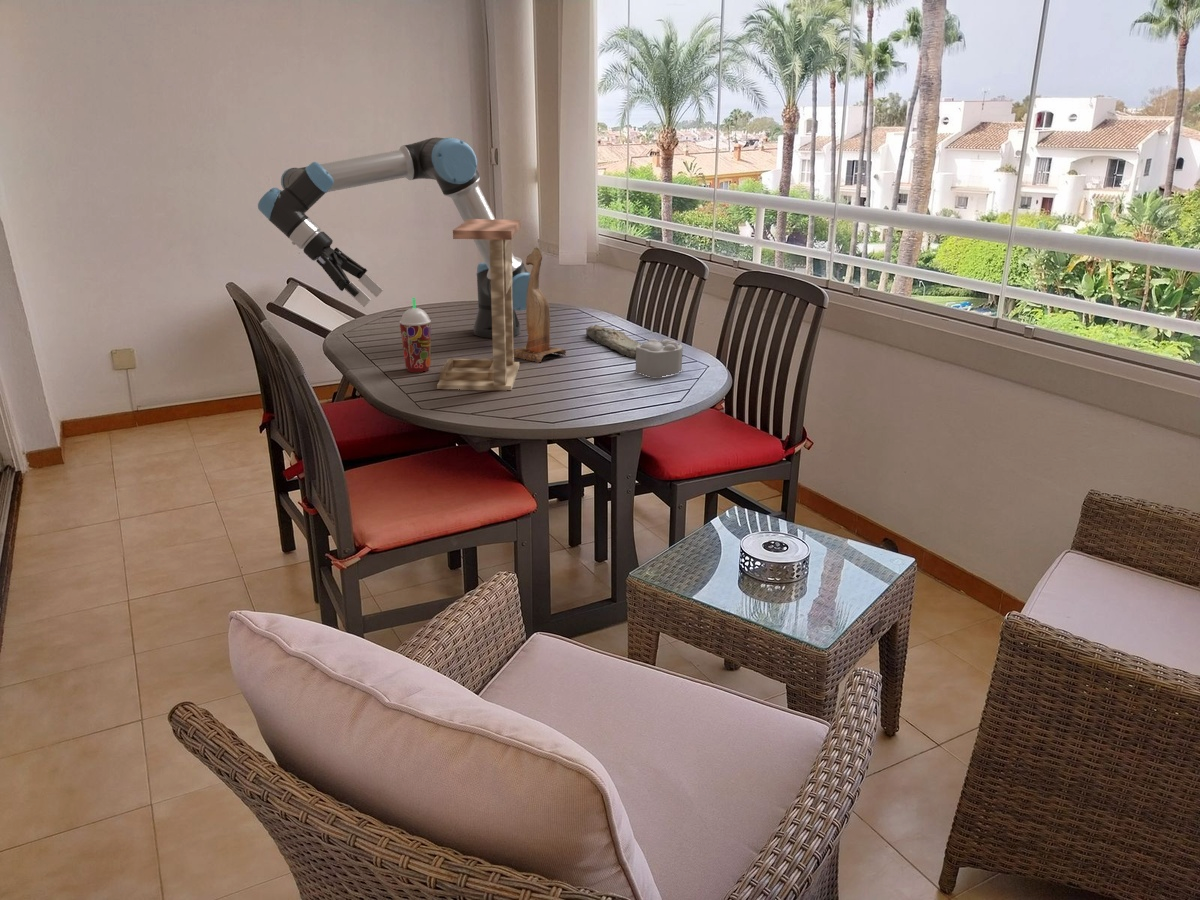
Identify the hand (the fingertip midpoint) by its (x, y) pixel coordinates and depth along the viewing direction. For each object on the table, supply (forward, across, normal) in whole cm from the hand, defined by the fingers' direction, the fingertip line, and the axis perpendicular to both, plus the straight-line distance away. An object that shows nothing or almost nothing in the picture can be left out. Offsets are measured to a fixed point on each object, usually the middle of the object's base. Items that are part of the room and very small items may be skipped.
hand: (374, 298), depth 232 cm
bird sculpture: (+44, -16, +16) cm, 50 cm away
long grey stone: (+61, -31, +32) cm, 76 cm away
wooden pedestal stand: (+34, +6, +7) cm, 36 cm away
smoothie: (+22, 0, -6) cm, 23 cm away
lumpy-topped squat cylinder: (+69, -2, +41) cm, 80 cm away
